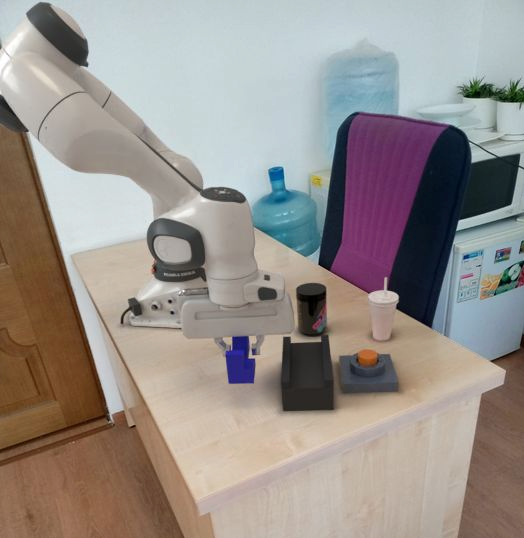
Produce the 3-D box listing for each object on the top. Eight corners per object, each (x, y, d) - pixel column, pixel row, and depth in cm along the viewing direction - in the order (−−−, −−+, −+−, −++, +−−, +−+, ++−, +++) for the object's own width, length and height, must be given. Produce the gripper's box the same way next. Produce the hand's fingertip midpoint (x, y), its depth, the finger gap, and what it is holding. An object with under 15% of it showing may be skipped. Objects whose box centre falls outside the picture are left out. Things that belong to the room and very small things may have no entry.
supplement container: (309, 340, 111) (307, 297, 105) (292, 329, 116) (289, 288, 111) (333, 331, 113) (332, 289, 108) (315, 321, 119) (314, 280, 113)
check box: (342, 393, 93) (342, 375, 91) (339, 364, 101) (339, 347, 99) (397, 391, 92) (399, 373, 90) (389, 363, 100) (390, 345, 98)
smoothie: (379, 346, 106) (381, 285, 99) (360, 334, 111) (361, 276, 104) (402, 338, 108) (406, 278, 101) (383, 326, 113) (386, 268, 106)
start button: (358, 367, 93) (359, 359, 92) (356, 357, 96) (357, 349, 96) (378, 366, 93) (378, 358, 92) (375, 356, 96) (376, 348, 95)
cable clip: (253, 383, 88) (251, 354, 85) (228, 383, 88) (225, 355, 85) (257, 348, 98) (255, 321, 95) (234, 349, 99) (232, 322, 96)
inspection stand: (283, 411, 89) (280, 381, 86) (285, 364, 103) (283, 336, 100) (333, 410, 89) (333, 379, 85) (328, 362, 102) (328, 334, 99)
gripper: (170, 297, 84) (183, 366, 91) (292, 289, 82) (296, 361, 89) (177, 282, 89) (189, 348, 96) (292, 275, 88) (296, 343, 95)
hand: (242, 354), depth 93 cm, fingers closed on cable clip, 4 cm apart
